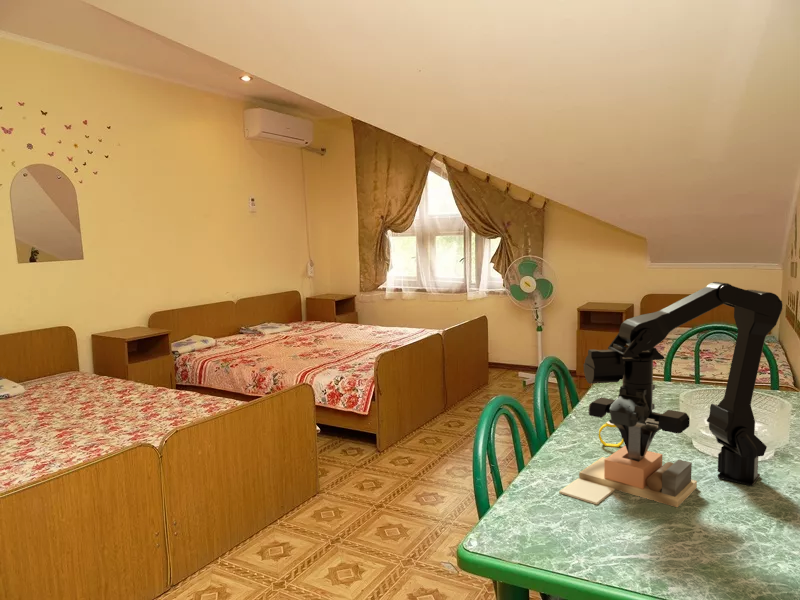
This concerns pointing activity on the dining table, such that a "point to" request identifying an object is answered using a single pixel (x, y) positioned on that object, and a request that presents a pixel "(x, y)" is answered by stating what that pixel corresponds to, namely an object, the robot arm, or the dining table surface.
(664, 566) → the dining table surface
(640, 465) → the orange block with hole
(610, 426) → the watch
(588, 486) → the beige square tile
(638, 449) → the gray rectangular bar
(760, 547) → the dining table surface
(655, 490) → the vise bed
